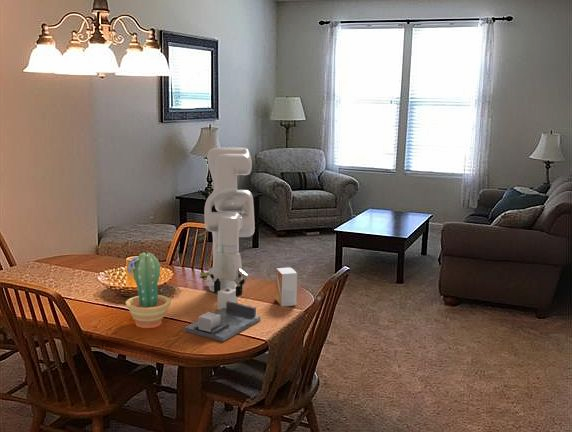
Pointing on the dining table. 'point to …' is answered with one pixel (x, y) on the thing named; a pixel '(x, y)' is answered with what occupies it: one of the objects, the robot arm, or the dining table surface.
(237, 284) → the robot arm
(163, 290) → the dining table surface
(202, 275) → the lily flower
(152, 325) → the potted cactus
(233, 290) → the block
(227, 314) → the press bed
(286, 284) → the small box
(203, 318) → the block
